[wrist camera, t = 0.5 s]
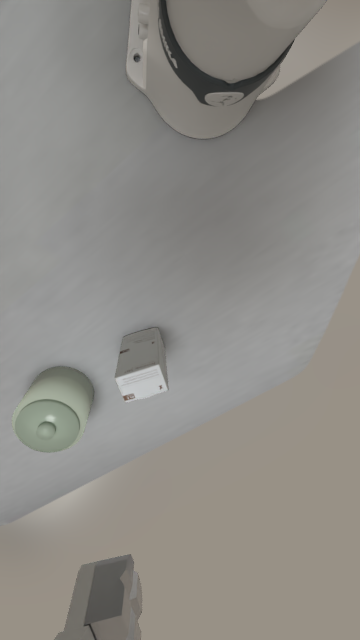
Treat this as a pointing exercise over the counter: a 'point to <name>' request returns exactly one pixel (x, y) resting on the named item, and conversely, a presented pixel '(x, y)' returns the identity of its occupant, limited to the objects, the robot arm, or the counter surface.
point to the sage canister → (54, 410)
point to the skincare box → (142, 365)
